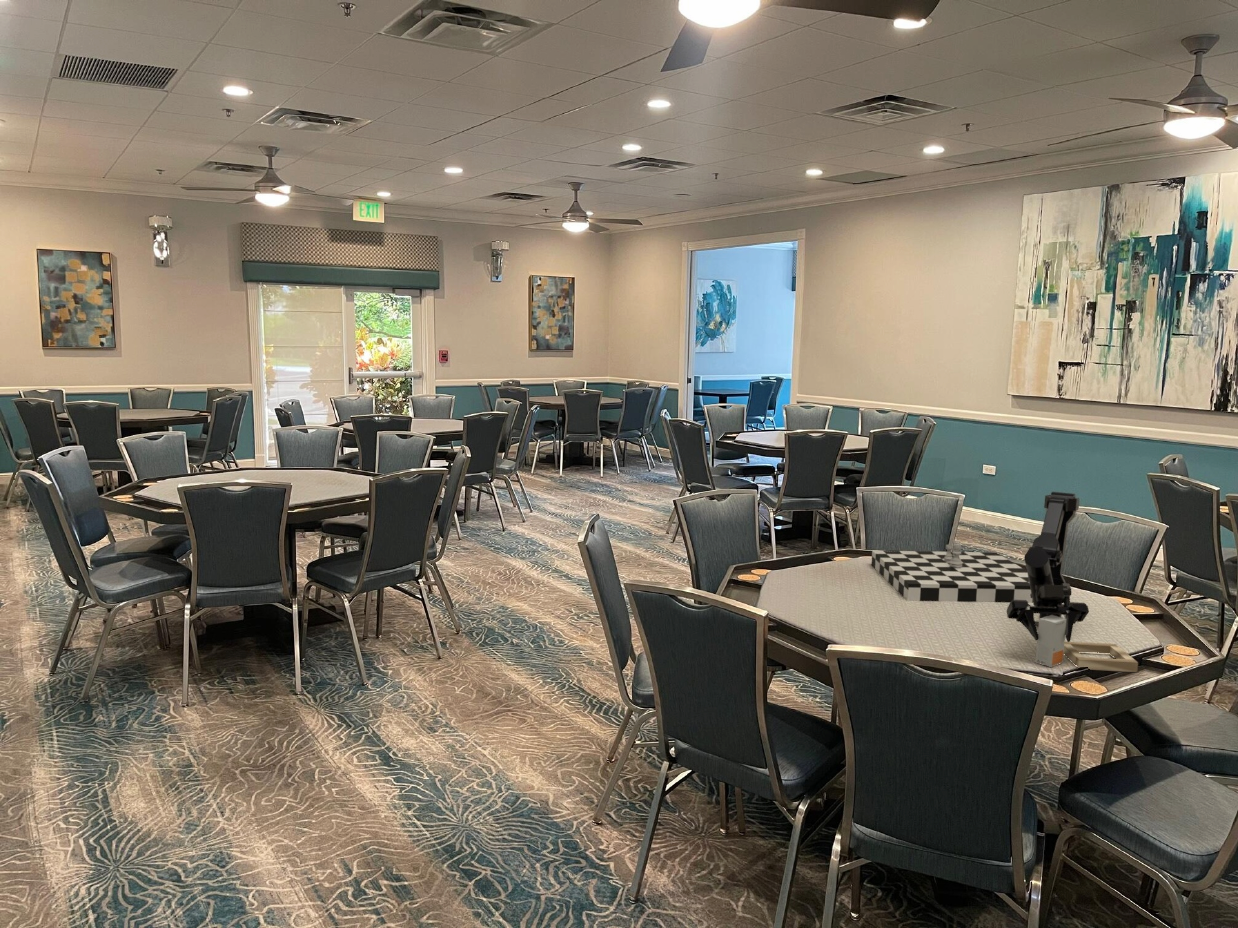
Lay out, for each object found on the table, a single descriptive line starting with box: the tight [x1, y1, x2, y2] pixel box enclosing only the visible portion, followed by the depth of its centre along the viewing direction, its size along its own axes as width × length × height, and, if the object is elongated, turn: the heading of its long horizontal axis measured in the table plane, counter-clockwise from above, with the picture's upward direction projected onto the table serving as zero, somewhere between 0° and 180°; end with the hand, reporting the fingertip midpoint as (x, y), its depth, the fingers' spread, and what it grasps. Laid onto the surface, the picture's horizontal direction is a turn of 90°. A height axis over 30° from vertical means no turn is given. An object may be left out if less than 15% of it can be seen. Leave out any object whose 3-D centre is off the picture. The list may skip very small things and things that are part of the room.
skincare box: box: [1034, 615, 1067, 668], centre depth 231 cm, size 6×4×12 cm
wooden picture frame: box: [1063, 640, 1139, 673], centre depth 234 cm, size 14×14×2 cm
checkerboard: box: [871, 541, 1033, 604], centre depth 307 cm, size 45×45×15 cm
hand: (1053, 640), depth 230 cm, fingers open, 7 cm apart
